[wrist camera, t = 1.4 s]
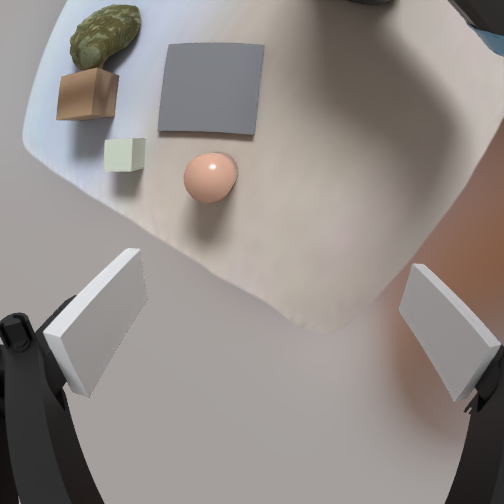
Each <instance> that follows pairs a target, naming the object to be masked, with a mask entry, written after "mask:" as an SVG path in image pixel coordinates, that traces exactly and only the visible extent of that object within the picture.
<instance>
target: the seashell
mask: <svg viewBox="0 0 504 504" xmlns="http://www.w3.org/2000/svg"><path fill="white" fill-rule="evenodd" d="M140 22H141V16H140V11H139V9H138V8H137V7H136V6H130V5H111V6H108V7H104V8H102V9H101V10H98V11H96V12H94V13H93V14H92V15H90V16H89V17H88V18H86V19H85V20H84V21H83V22H82V23H81V24H79V25H78V26H77V30H76V32H75V34H74V35H73V36H72V37H71V39H70V44H71V47H70V55H71V56H72V59H73V62H74V64H75V65H76V66H77V68H79V69H81V70H89V69H93V68H100V69H103V64H104V62H105V61H106V59H107V58H108V57H109V56H111V55H112V54H113V53H116V52H118V51H120V50H121V49H124V48H126V47H127V46H128V45H129V43H130V42H131V41H132V40H133V39H134V38H135V36H136V34H137V32H138V30H139V27H140Z"/></svg>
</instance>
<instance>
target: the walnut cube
mask: <svg viewBox="0 0 504 504" xmlns="http://www.w3.org/2000/svg"><path fill="white" fill-rule="evenodd" d="M118 82H119V76H118V75H116V74H113V73H111V72H108V71H105V70H103V69H100V68H93V69H89V70H85V71H81V72H77V73H73V74H69V75H66V76H62V77H61V82H60V89H59V97H58V106H57V118H56V120H76V121H82V120H89V119H97V118H105V117H115V108H116V98H117V89H118Z"/></svg>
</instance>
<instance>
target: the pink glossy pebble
mask: <svg viewBox="0 0 504 504" xmlns="http://www.w3.org/2000/svg"><path fill="white" fill-rule="evenodd" d="M237 177H238V167H237V164H236V162H235V160H234V159H233V158H232V157H231V156H230V155H228V154H226V153H222V152H214V153H209V154H203V155H200V156H198V157H196V158H194V159H193V160H192V161H191V162H190V163H189V164H188V166H187V167H186V170H185V173H184V184H185V187H186V190H187V191H188V193H189V194H190V195H191V196H192V197H193V198H194V199H196V200H198V201H200V202H204V203H213V202H216V201H219V200H221V199H222V198H224V197H225V196H226V195H227V194H228V192H229V191H230V189H231V188H232V186H233V185H234V183H235V182H236V180H237Z"/></svg>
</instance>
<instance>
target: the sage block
mask: <svg viewBox="0 0 504 504" xmlns="http://www.w3.org/2000/svg"><path fill="white" fill-rule="evenodd" d="M144 155H145V138H132V139H110V140H105V148H104V172H105V171H126V172H131V171H135V170H139V169H143V168H144Z"/></svg>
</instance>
